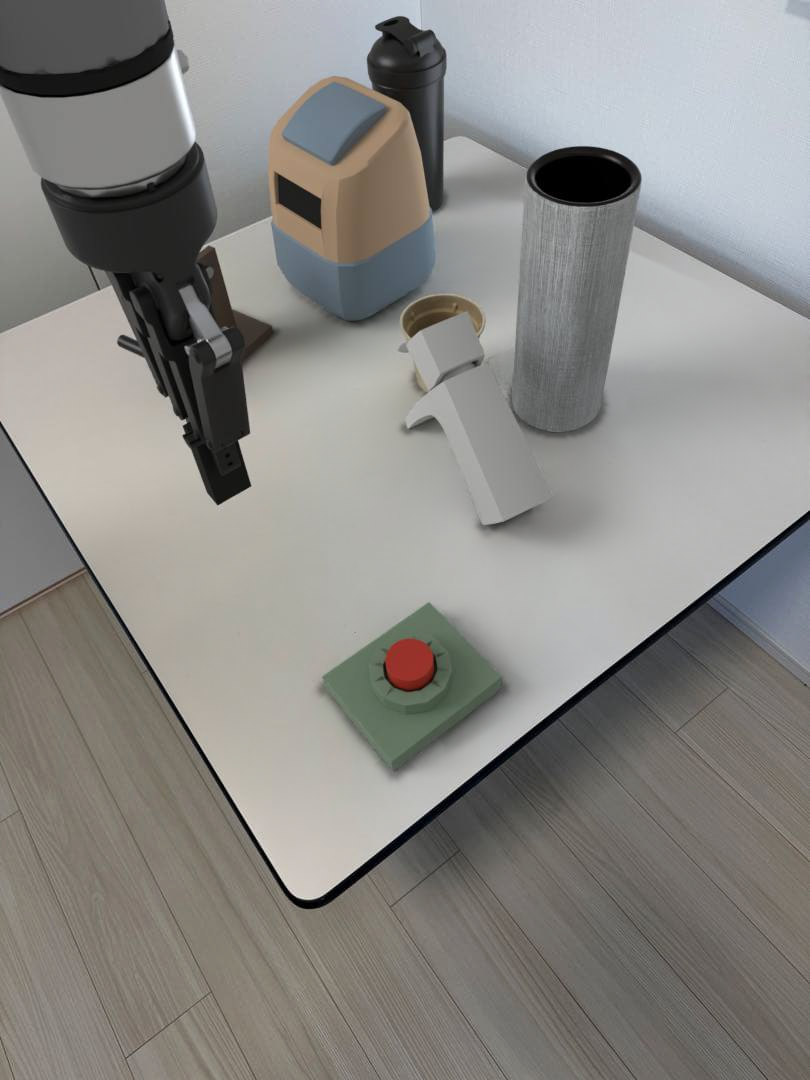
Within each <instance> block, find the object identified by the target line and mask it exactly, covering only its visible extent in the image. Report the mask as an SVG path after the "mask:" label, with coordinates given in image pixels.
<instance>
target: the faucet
mask: <svg viewBox="0 0 810 1080" xmlns="http://www.w3.org/2000/svg"><path fill="white" fill-rule="evenodd" d="M397 351H398V352H400V353H404V354H405V353H406V354H407V353H408V354H409V355H410V357H411V358H412V362H413V361H414V363H415V365H416V367H417V369H418V371H419V373H420V375H421V377H422V379H423V381H424V383H425V385H426V387H427V389H428V391H430V390H431V391H430V392H428V393H427V392H426V394H425V395H423V396H422V397H421V398H420V399H419V400H418V401H417V402H416V403H415V404H414V406H413V407H412V408H411V409H410V411H409V413H408V414H407V416H406V417H405V425H406V427H407V429H408V430H409V429H412V428H413V427H415V426H419V425H421V424H422V423H425V422H427V421H429V420H431V419H436V420H437V422H438V423H439V425H440V426H441V428H442V430H443V431H444V434H445V436H446V438H447V440H448V441H447V442H448V443H449V445H450V448H451V450H452V454H453V455H454V458H455V460H456V463H457V465H458V468H459V471H460V473H461V476H462V478H463V480H464V482H465V485H466V487H467V490H468V493H469V495H470V498H471V501H472V503H473V505H474V508H475V510H476V512H477V515H478V517H479V520H480V522H481V524H482V526H486V525H487V526H488V525H494V524H498V523H499V524H500V523H503V522H506V521H508V520H510V519H512V518H515V517H516V516H518V515H520V514H523V513H524V512H526V511H529V510H531V509H533V508H535V507H537V506H539V505H540V504H543V503H544V502H546V501H548V500H550V499H552V498H554V497H555V496H554V494H553V492H552V490H551V488H550V485H549V484H548V482H547V480H546V478H545V475H544V473H543V472H542V470H541V468H540V465H539V463H538V461H537V460H536V457H535V455H534V453H533V451H532V449H531V447H530V445H529V443H528V442H527V438H526V437H525V435H524V433H523V431H522V429H521V427H520V425H519V422H518V421H517V419H516V417H515V415H514V413H513V410H512V409H511V406H510V404H509V402H508V400H507V398H506V396H505V394H504V392H503V390H502V388H501V386H500V384H499V382H498V380H497V378H496V376H495V373H494V372H493V370H492V368H491V365H490V364H489V362H488V361H487V362H484V363H483V361H484V359H485V356H486V354H485V352H484V349H483V347H482V344H481V341H480V338H479V339H478V336H477V333H476V331H475V328H474V326H473V323H472V321H471V318H470V316H469V313H468V311H467V312H464V313H462V314H459V315H456V316H454V317H451V318H449V319H446V320H444V321H442V322H439V323H437V324H434V325H432V326H430V327H427V328H425V329H423V330H421V331H419V332H418V333H417V334H416V335H415V336H413V337H412V338H411V339H410V340H409V342H407V341H406V342H403V343H402V344H400V346H399V347H398V349H397ZM414 363H413V364H414Z"/></svg>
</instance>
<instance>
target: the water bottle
mask: <svg viewBox="0 0 810 1080" xmlns="http://www.w3.org/2000/svg"><path fill="white" fill-rule="evenodd" d="M374 29H375V30H376V31H378V32H381V36H380V37H378V38H377V39H376V40H375V41H374V43H373V44H372V46H371V48H370V51H369V52H368V53H367V56H366V67H367V75H368V79H369V81H370V82H371V89H372V90H374V91H377V92H379V93H381V94H383V95H385V96H387V97H389V98H392V99H394V100H396V101H398V102H400V103H401V104H402V105H403V106H404V107H405V108H406V109H407V110H408V111H409V113H410V116H411V120H412V123H413V127H414V130H415V134H416V137H417V141H418V144H419V148H420V152H421V157H422V163H423V169H424V176H425V182H426V188H427V195H428V201H429V207H430V208H431V209H432V213H434V212H435V211H437V210H438V209H439V208H440V207H441V206H442V205H443V202H444V165H445V163H444V158H445V157H444V155H445V154H444V152H445V151H444V149H445V148H444V147H445V146H444V145H445V144H444V143H445V142H444V141H445V139H444V137H445V76H446V74H447V68H448V59H447V58H448V57H447V56H448V55H447V51H446V49H445V47H444V46H443V45H442V43H441V41H440V40H439V39H438V38H437V36H436V33H435V32H434V31H433V30H432V29H426V30H424V29H420V28H418V27H417V26H415V25H414V24H412V22H411V21H410V19H409V18H408V17H407V16H404V15H397V16H392V17H391V18H388V19H386V20H382V21H381V22H379V23H377V24H376V25H374Z"/></svg>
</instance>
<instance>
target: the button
mask: <svg viewBox="0 0 810 1080" xmlns="http://www.w3.org/2000/svg"><path fill="white" fill-rule="evenodd" d="M385 661H386V668H387V674H388V677H389V679H390V681H391V682H392V683H393V684H394V685H395V686H397V687H398V688H401V689H404V690H416V689H419V688H421V687H423V686H425V685H426V684H427V683H428V682H429V681H430V680H431V678H432V676H433V673H434V660H433V653H432V651H431V649H430V648H429V646H428V645H427V644H425V643H424V642H422V641H420V640H417V639H410V638H409V639H403V640H400V641H398V642H396V643H395V644H393V645H392V646H391V647H390V649H389V650H388V652H387V654H386V660H385Z"/></svg>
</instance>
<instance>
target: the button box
mask: <svg viewBox="0 0 810 1080" xmlns="http://www.w3.org/2000/svg"><path fill="white" fill-rule="evenodd" d="M409 638H410V639H417V640H420V641H422V642H424V643H425V644H427V645H428V646H429V648H430V649H431V651H432V653H433V660H434V673H433V676H432V678H431V680H430V681H429V682H428V683H427V684H426V685H425V686H423V687H421V688H419V689H416V690H404V689H401V688H398V687H397V686H395V685H394V684H393V683H392V682H391V681H390V679H389V677H388V674H387V668H386V661H385V660H386V654H387V652H388V650H389V649H390V647H391V646H392V645H393V644H395V643H396V642H398V641H400V640H403V639H409ZM321 678H322V681H323V684H324V685H323V686H324V688H325V690H326V691H327V692H328V693H329V695H330V696H331V697H332V698H333V700H334V701H335V702H336V703H337V704H338V706H339V707H340V708H341V710H342V711H343V712H344V713H345V715H346V716H348V718H349V719H350V720H351V722H352V723H353V724H354V725H355V727H356V728H357V729H358V731H359V732H360V733H361V734H362V736H363V737H364V738H365V739H366V740H367V742H368V743H369V744H370V746H371V747H372V748H373V749H374V750H375V752H376V753H377V754H378V755H379V756H380V758H381V759H382V760H383V761H384V763H385V764H386V765H387V766H388V768H389V769H390V771H392V772H393V773H394V772H395V771H397V770H398V769H399V768H401V767H402V766H403V765H404V764H406V763H407V762H408V761H409V760H411V759H412V758H413V757H415V756H416V755H417V754H419V753H420V752H421V751H423V750H424V749H425V748H427V747H428V746H429V745H431V744H432V743H433V742H434V741H435V740H437V739H438V738H439V737H440V736H442V735H443V734H444V733H446V732H447V731H448V730H450V729H451V728H453V727H454V726H455V725H457V724H458V723H459V722H460V721H461V720H463V719H464V718H465V717H466V716H468V715H469V714H470V713H471V712H473V711H474V710H475V709H477V708H478V707H479V706H481V705H483V703H485V702H486V701H487V700H488V699H490V698H491V697H492V696H494V694H496V693H497V692H499V691H500V690H501V689H502V682H503V676H502V675H501V674H500V673H499V672H498V671H497V670H496V669H495V668H494V667H493V666H492V665H491V664H490V663H489V661H487V660H486V659H485V657H483V655H482V654H480V652H479V651H478V650H477V649H476V648H474V646H473V645H472V644H471V643H470V642H469V641H468V640H467V639H466V638H465V637H464V636H463V634H461V633H460V632H459V631H458V630H457V628H455V627H454V626H453V625H452V624H451V623H450V622H449V621H448V620H447V619H446V618H445V616H443V614H442V613H441V612H439V610H438V609H437V608H436V607H435V606H434V605H433V604H432V603H431V602H430V601H428V602H427V603H425V604H424V605H422V606H421V607H420V608H418V609H416V610H415V611H414V612H413V613H411V614H409V615H408V616H407V617H405V618H404V619H402V620H401V621H400V622H398V623H397V624H396V625H393V626H392V627H391V628H390V629H389V630H387V631H385V632H384V633H382V634H381V635H380V636H378V637H377V638H375V639H373V640H372V641H371V642H369V643H368V644H367V645H365V646H363V648H361V649H359V650H358V651H357V652H356V653H354V654H352V655H351V656H349V657H348V658H347V659H346V660H344V661H342V662H341V663H339V664H338V665H337V666H335V667H334V668H332V669H331V670H330V671H328V672H327V673H325V674H324V675H323V676H322V677H321Z"/></svg>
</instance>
